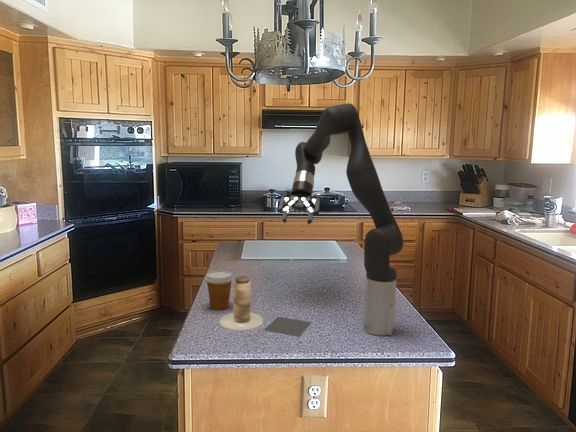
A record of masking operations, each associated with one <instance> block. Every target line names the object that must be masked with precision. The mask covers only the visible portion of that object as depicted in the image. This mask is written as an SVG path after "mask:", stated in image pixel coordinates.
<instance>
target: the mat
mask: <svg viewBox="0 0 576 432" xmlns="http://www.w3.org/2000/svg"><path fill="white" fill-rule="evenodd" d="M312 323H313V321H305V320H299V319H294V318H290V317H283V316H277V317H276V318H274V319H273V321H271V323H269V324H268V325H267V326H266V327H265V328H263V331H266V332H271V333H276V334H281V335H288V336H292V337H293V336H294V337H298V338H300V336H301V335H302V334H303V333H304V332H305V331H306V330H307V328H308V327H310V325H311V324H312Z"/></svg>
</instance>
